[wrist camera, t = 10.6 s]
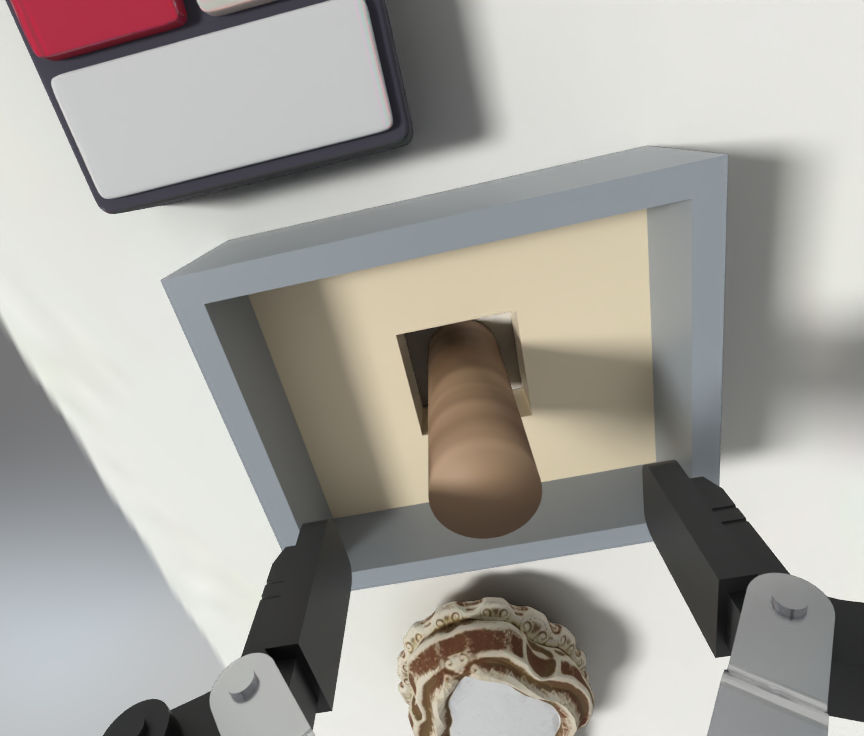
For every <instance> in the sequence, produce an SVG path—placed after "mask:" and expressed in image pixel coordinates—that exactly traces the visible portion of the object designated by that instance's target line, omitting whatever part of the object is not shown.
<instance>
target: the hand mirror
mask: <svg viewBox="0 0 864 736" xmlns="http://www.w3.org/2000/svg"><path fill="white" fill-rule="evenodd" d="M403 643H404V650H403V651H402V652H401V653H400V654H399V655H398V659H397V673H398V676H399V677H400V679H401V682H400V684H399V685H398V690H399V692H400V693H401V695H402V697H403V699H404V700H405V702H406V703H407V704H408V705H409V711H408V718H409V721H410V724H411V727H412V730H413V733H414V735H415V736H574V734H575V732H576V731H577V730H578V729H580V728H582V727H583V726H585V725H587V723H588V722H589V720H590V718H591V716H592V712H593V708H594V704H595V697H594V694H593V692H592V689H591V687H590V684H589V683H588V682H589V679H590V677H589V675H588V673H587V672H586V671H585V667H586V663H587V661H586V657H585V654H584V653H583V651H581V650H579V649H578V648H576V647H575V646H576V640H575V637H574V636H573V635H572V634H571V632H570V631H569V630H568V629H567V628H566V627H565V626H562V625H560V624H555V623H550V622H548V620H547V618H546V616H545V615H544V614H543V613H541V612H539V611H537V610H535V609H533V608H531V607H529V606H523V607H518V606H515V605H512V604H509V603H508V602H507V601H506V600H505V599H503V598H495V597H484V598H482V599H480V600H476V601H468V602H459V601H451V602H448V603H446V604H443V605H440V606H439V607H437V609H436V611H435V612H434V613H433V614H432V615H431V616H429V617H428V618H426V619H425V620H422V621H419V622H416V623H414V624H413V625H412V627H411V628H410V629H409V630H408V632H407V633H406V635H405V636H404V638H403Z"/></svg>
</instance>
